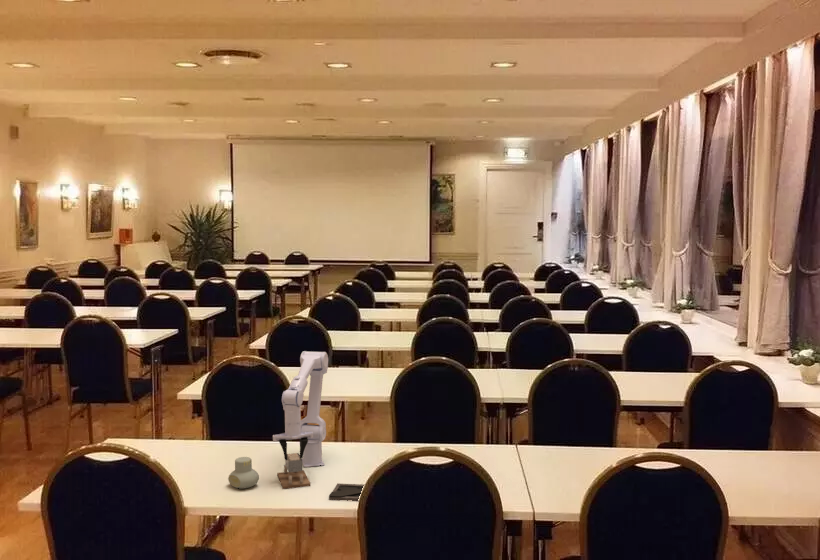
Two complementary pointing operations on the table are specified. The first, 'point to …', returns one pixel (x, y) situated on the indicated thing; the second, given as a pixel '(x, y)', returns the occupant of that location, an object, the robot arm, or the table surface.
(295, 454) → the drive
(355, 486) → the picture frame
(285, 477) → the pegged wooden board
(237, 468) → the air freshener
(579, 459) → the table surface
